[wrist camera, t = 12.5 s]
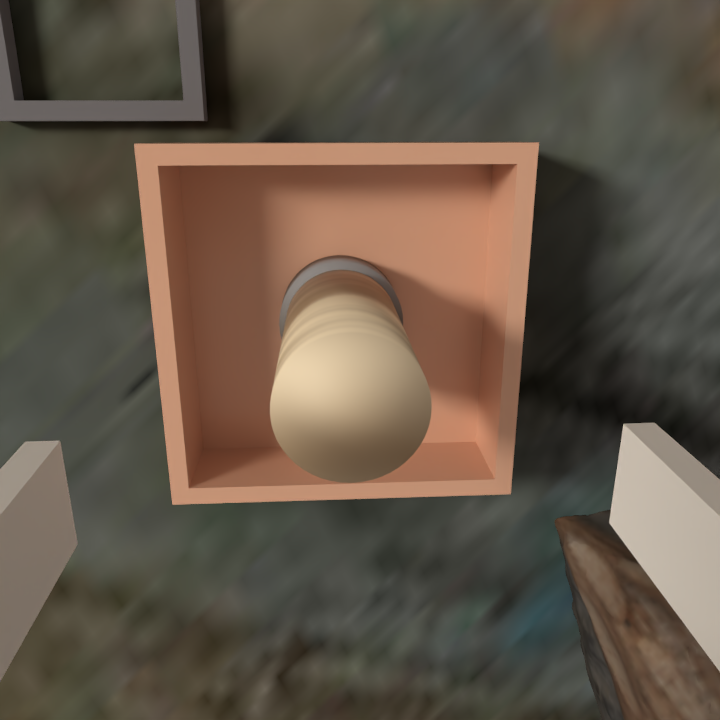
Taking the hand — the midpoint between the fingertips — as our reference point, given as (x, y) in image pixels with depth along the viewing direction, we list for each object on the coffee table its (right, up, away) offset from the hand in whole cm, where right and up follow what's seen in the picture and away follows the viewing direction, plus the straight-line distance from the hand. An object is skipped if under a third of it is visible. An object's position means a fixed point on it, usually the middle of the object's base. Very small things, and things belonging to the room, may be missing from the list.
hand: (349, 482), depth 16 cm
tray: (-1, +5, +17) cm, 18 cm away
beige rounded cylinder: (-1, +5, +16) cm, 17 cm away
